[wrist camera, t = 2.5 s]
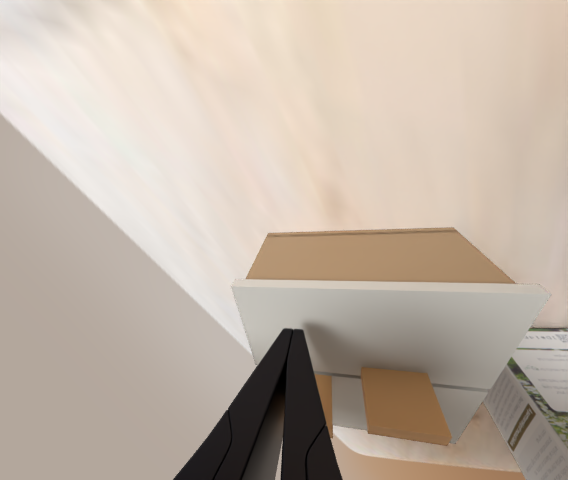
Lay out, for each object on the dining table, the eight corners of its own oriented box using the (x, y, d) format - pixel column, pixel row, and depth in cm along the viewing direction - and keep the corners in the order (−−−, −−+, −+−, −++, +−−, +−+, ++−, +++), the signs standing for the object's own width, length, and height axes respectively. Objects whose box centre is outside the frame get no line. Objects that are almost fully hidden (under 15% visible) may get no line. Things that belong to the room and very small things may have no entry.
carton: (453, 227, 12) (520, 287, 8) (417, 352, 18) (445, 426, 14) (268, 233, 15) (244, 282, 10) (287, 342, 20) (277, 403, 16)
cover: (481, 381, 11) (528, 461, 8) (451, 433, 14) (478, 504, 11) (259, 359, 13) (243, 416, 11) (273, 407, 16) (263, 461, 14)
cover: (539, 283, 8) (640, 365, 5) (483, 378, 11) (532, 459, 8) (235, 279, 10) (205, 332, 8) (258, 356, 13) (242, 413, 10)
